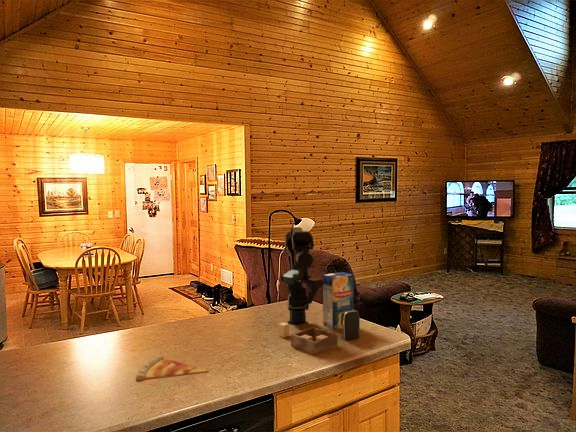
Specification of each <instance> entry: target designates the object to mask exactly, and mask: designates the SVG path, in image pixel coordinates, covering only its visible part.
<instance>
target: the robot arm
mask: <svg viewBox="0 0 576 432" xmlns="http://www.w3.org/2000/svg"><path fill="white" fill-rule="evenodd" d="M284 247H285V249H286V253H287V254H288V255H289V257H290V269H291V270H288V271H287V272H286V273H282V274H281V276H280V282H282V283H283V284H284V285H285V286H287V288H288V291H289V295H288V296H287V302H286V303H287V304H286V305H287V310H288V311H289V320H288V321H287V322H286V323H288V324H289V325H293V326H295V325H296V326H299V325H304V324H308V323H309V322H308V321H307V319H306V318H307V317H306V316H307V315H306V311H308V310H309V308H310V304H312V302H313V301H314V298H315V296H316V295H317V293H318V291H319V289H321V288H323V286H324V281H323V278H318V277H313V278H312V274H310V271H309V270H310V269H311V268H312V264H313V262H314V259H313V256H312V254H311V253H310V251H313V249H314V247H315V242H314V237H313V235H312V234H311V232H310V231H308V230H307V231H306V230H305V231H304V230H303V228H302V227H299V226H298V227H295V226H294V227H290V229H289V231H288V232H287V233H286V234H285V237H284ZM303 284H305V285H306V287H304V286H303ZM307 294H308V295H307Z"/></svg>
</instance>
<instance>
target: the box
mask: <svg viewBox="0 0 576 432" xmlns="http://www.w3.org/2000/svg"><path fill="white" fill-rule="evenodd" d="M303 335H308V336H311V337H312V340H309V339H306V338H303V337H300V336H303ZM320 335H325V336H328V337H326V338H324V339H321V340H319V341H316V337H317V336H320ZM290 347H292V348H295V349H297V350H300V351H302V352H305V353H308V354H311V355H313V356H317V355H320V354H322V353H325V352H327V351H330V350H332V349H334V348H337V347H338V334H336V333H334V332H330V331H327V330H323V329H321V328H318V327H316V326H311V327H308V328H306V329H303V330H300V331H297V332H294V333H290Z"/></svg>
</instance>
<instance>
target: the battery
mask: <svg viewBox="0 0 576 432" xmlns="http://www.w3.org/2000/svg"><path fill="white" fill-rule="evenodd" d="M360 316H361V315H360V312H359V311H358V310H356V309H353V310H347V311H343V312H342V314H341V324H342V325H343V329H342V337H341V340H342V341H345V342H348V341H353V340H354V341H355V340H358V339H360V325H361V324H360V323H361V322H360V321H361V318H360Z"/></svg>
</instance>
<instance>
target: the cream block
mask: <svg viewBox="0 0 576 432" xmlns="http://www.w3.org/2000/svg"><path fill="white" fill-rule="evenodd" d="M326 337H328V336H325V335H320V336H317V337H316V341H319V340H321V339H324V338H326Z"/></svg>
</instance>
